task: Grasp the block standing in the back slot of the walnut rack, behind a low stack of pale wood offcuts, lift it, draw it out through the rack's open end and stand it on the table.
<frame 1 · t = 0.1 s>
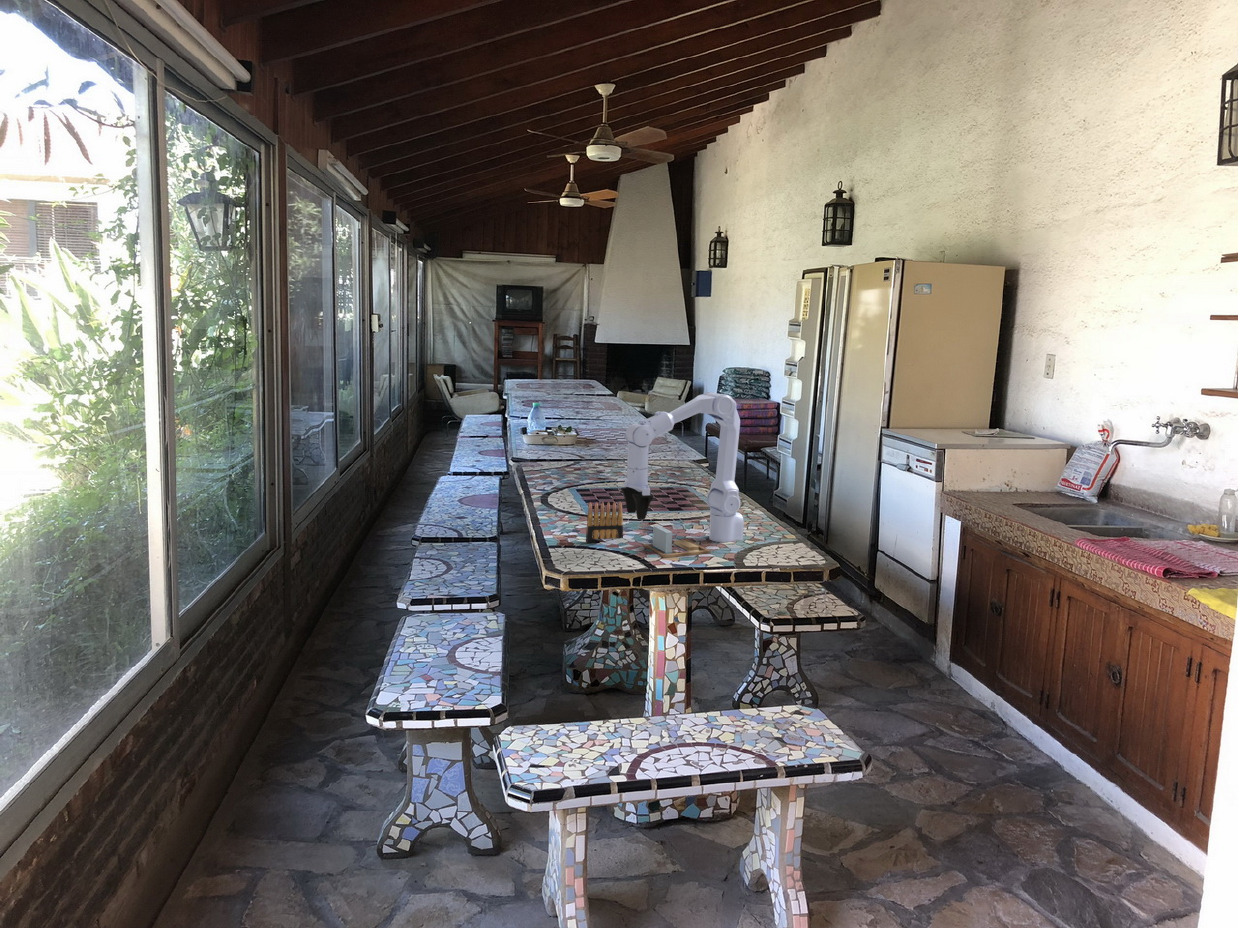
hand: (636, 515, 240), 10 cm above the table, fingers open, 7 cm apart
rack: (674, 552, 241), on the table
block: (661, 553, 240), resting in rack
ammunition clip: (604, 542, 250), on the table
offcut birch: (686, 549, 243), resting on rack, touching offcut oak
offcut oak: (686, 546, 243), point 1 cm above the table, touching offcut birch
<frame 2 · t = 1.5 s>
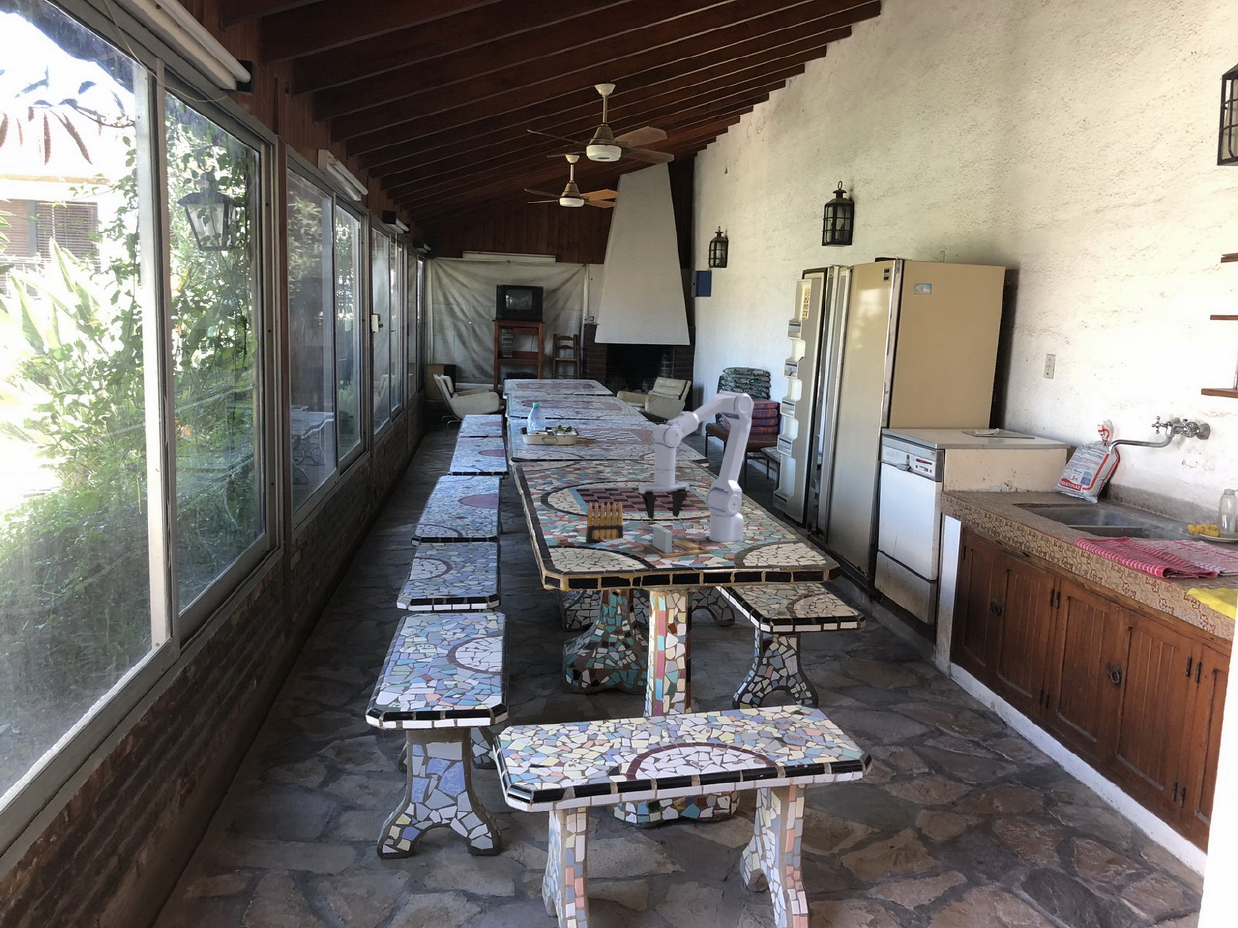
hand: (663, 517, 238), 10 cm above the table, fingers open, 7 cm apart
nothing on the table moved.
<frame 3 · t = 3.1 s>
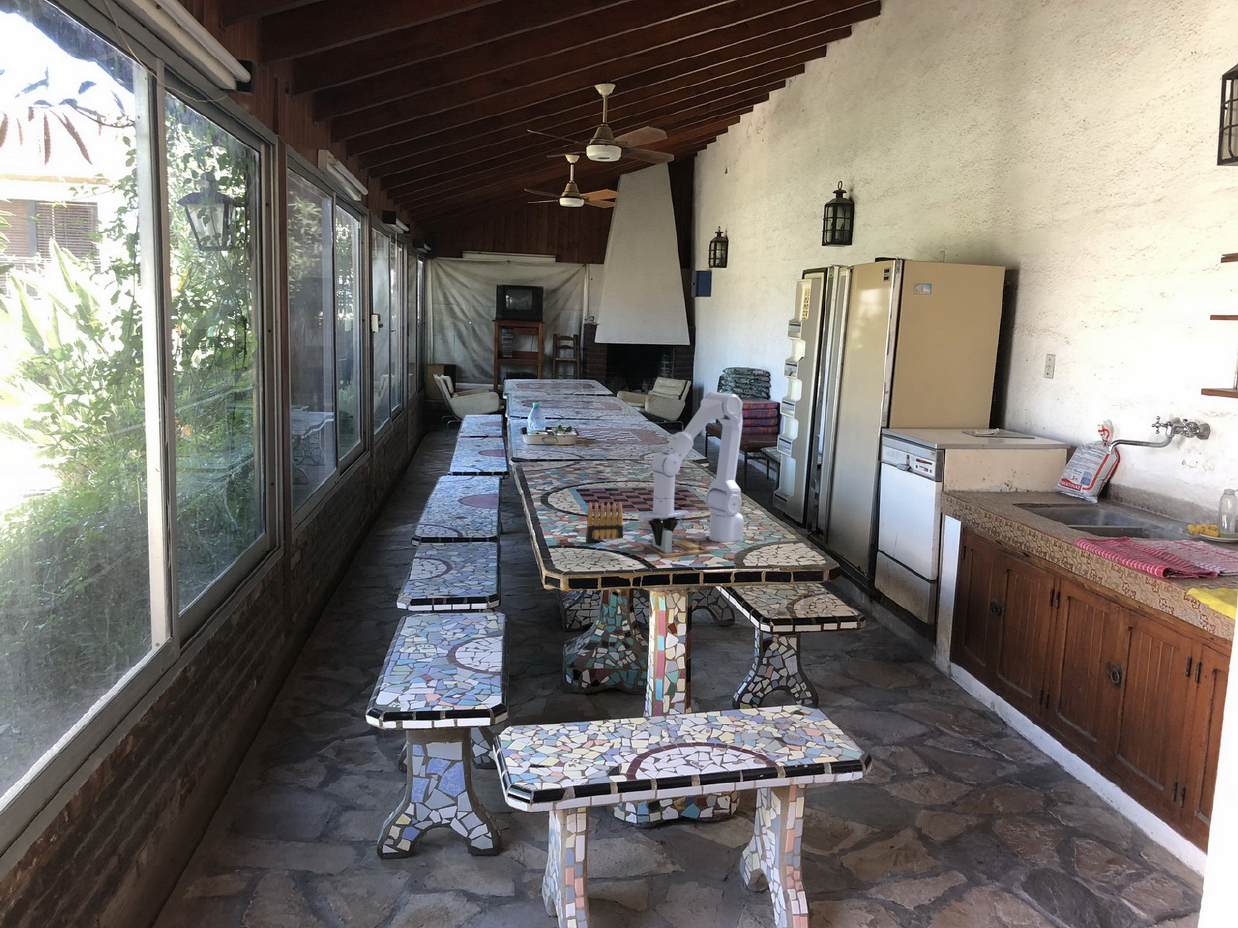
hand: (662, 544, 240), 2 cm above the table, fingers closed on block, 2 cm apart
block: (661, 553, 240), resting in rack, touching gripper
everything else where it was.
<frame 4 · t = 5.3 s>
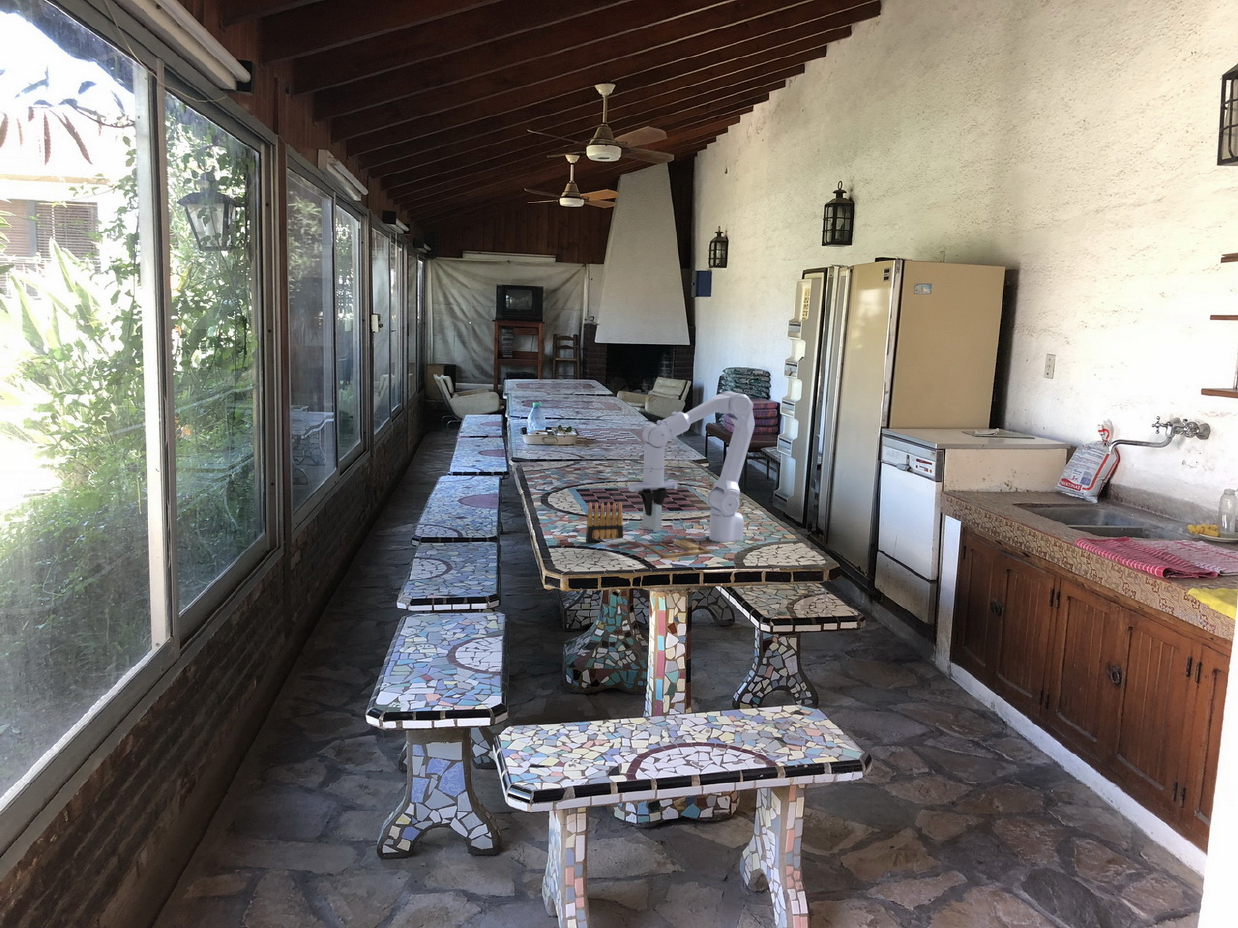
hand: (652, 514, 244), 9 cm above the table, fingers closed on block
block: (651, 527, 245), point 6 cm above the table, touching gripper
everything else where it was.
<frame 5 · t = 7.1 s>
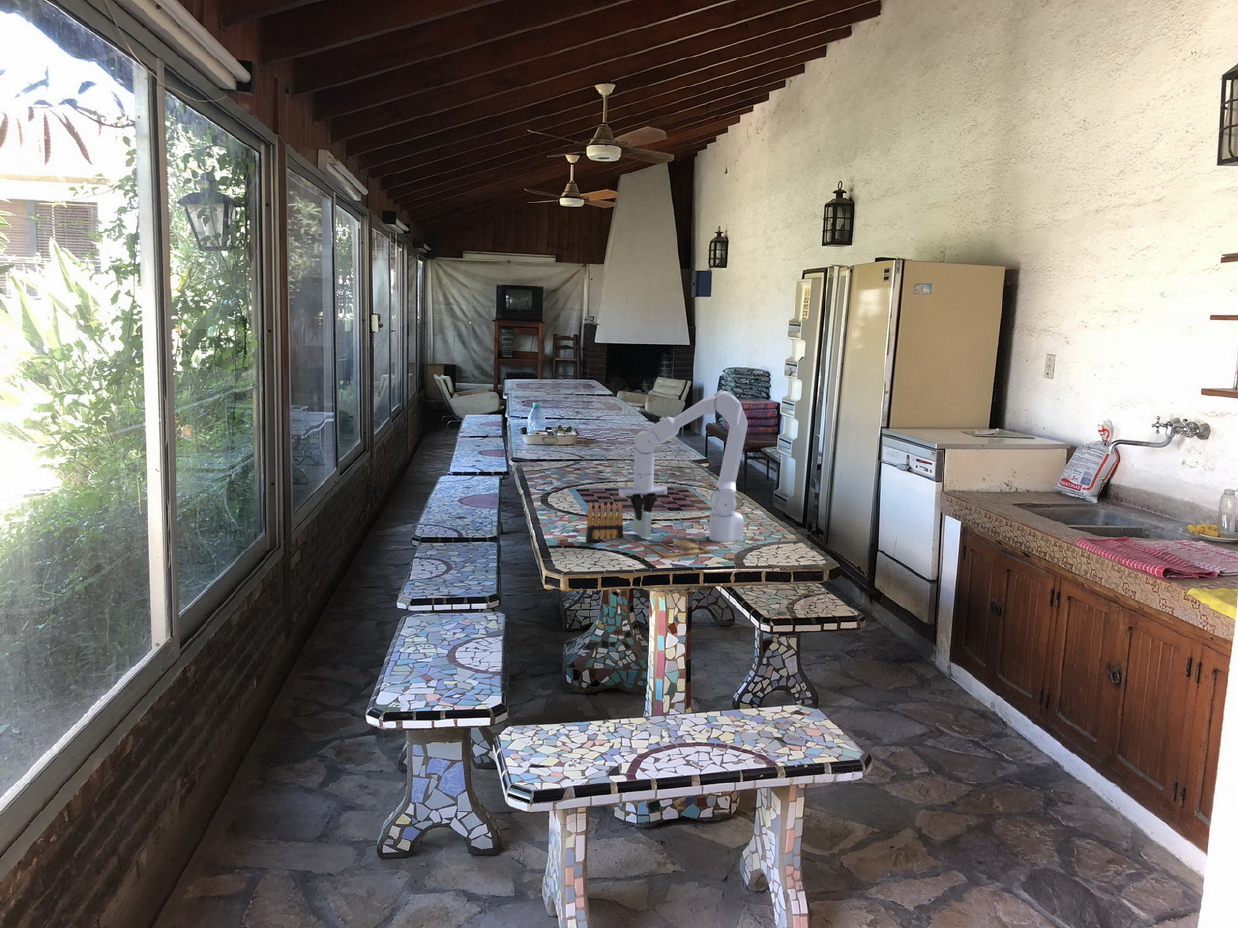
hand: (642, 519, 251), 7 cm above the table, fingers closed on block, 2 cm apart
block: (641, 534, 251), point 2 cm above the table, touching gripper
everything else where it was.
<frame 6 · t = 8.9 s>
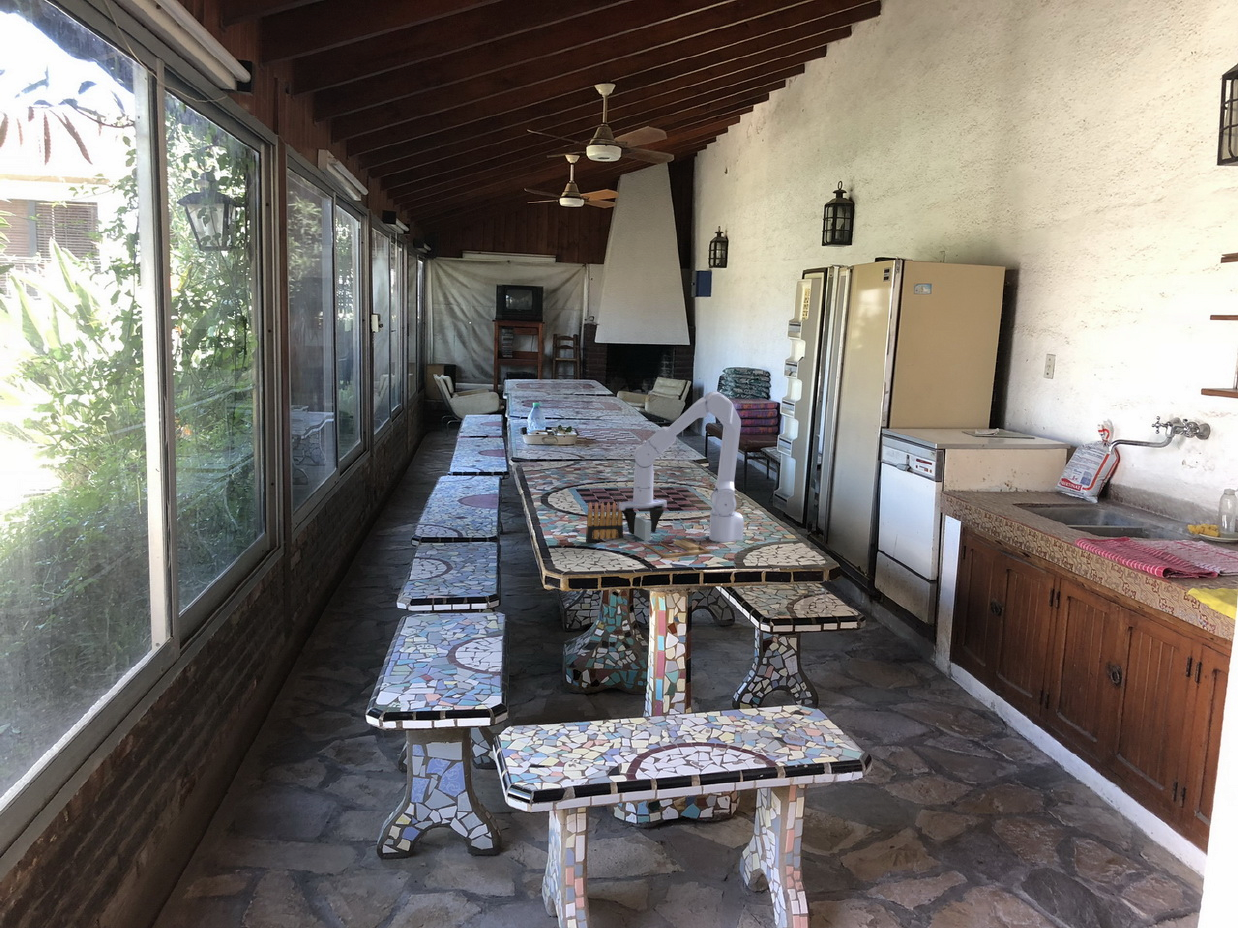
hand: (642, 532, 251), 3 cm above the table, fingers open, 6 cm apart
block: (641, 541, 252), on the table
ammunition clip: (604, 542, 250), on the table, touching gripper
everything else where it was.
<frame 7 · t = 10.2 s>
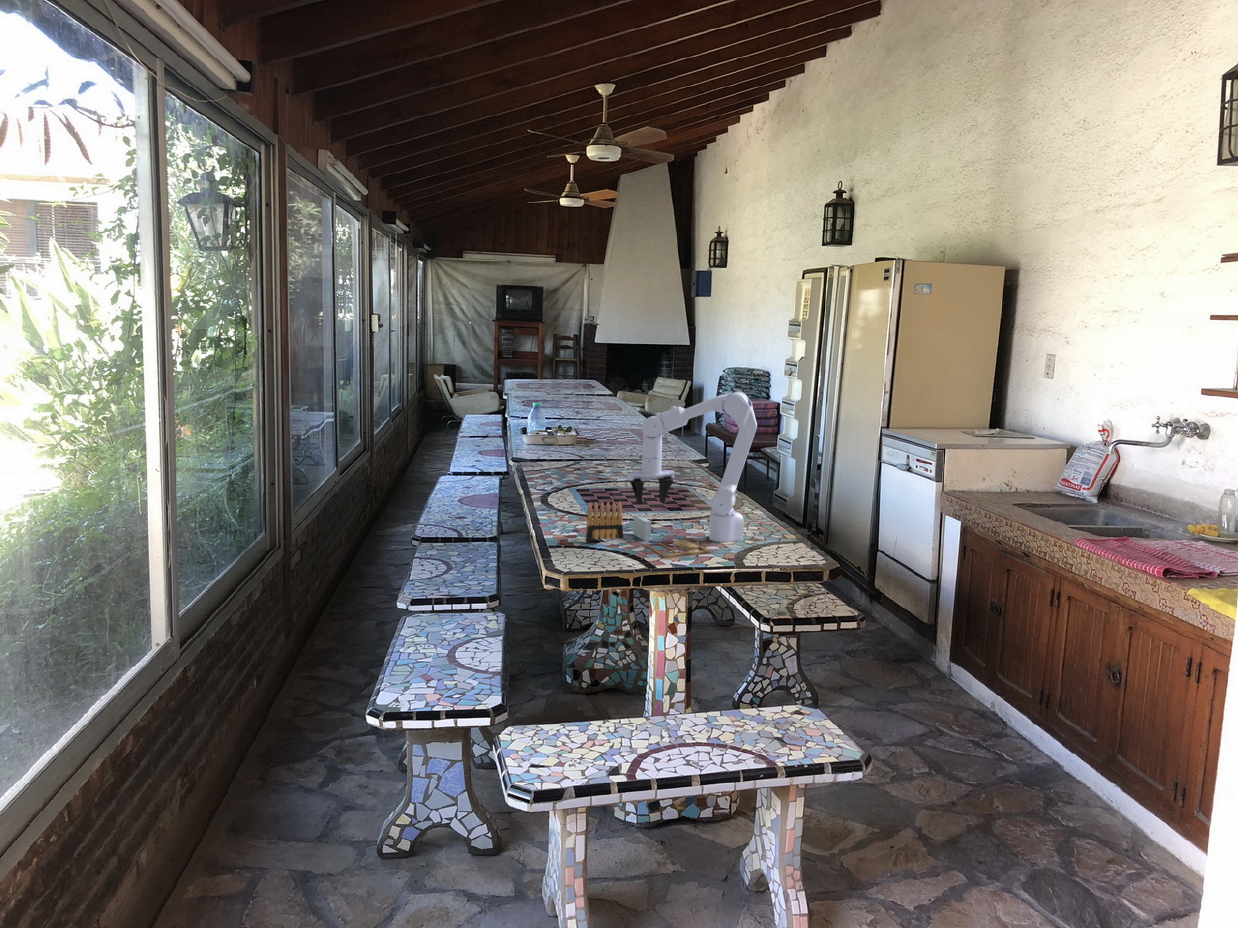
hand: (650, 502, 256), 10 cm above the table, fingers open, 7 cm apart
ammunition clip: (604, 542, 250), on the table
everything else where it was.
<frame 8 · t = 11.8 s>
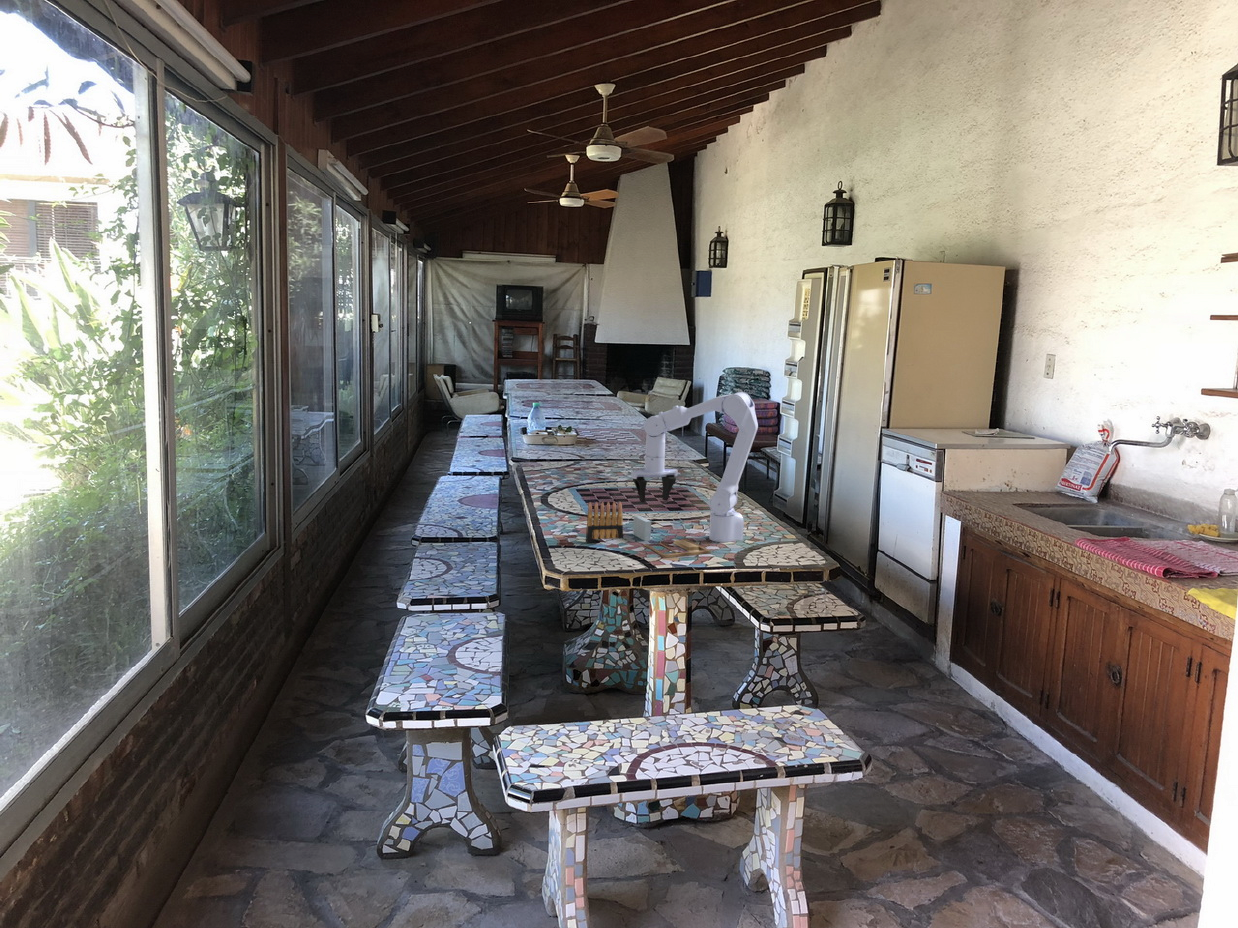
hand: (653, 500, 258), 10 cm above the table, fingers open, 7 cm apart
nothing on the table moved.
at the end: block inside the target area (1.0 cm from its centre), on the table; the gripper is holding nothing; block moved 13.0 cm from its start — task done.
